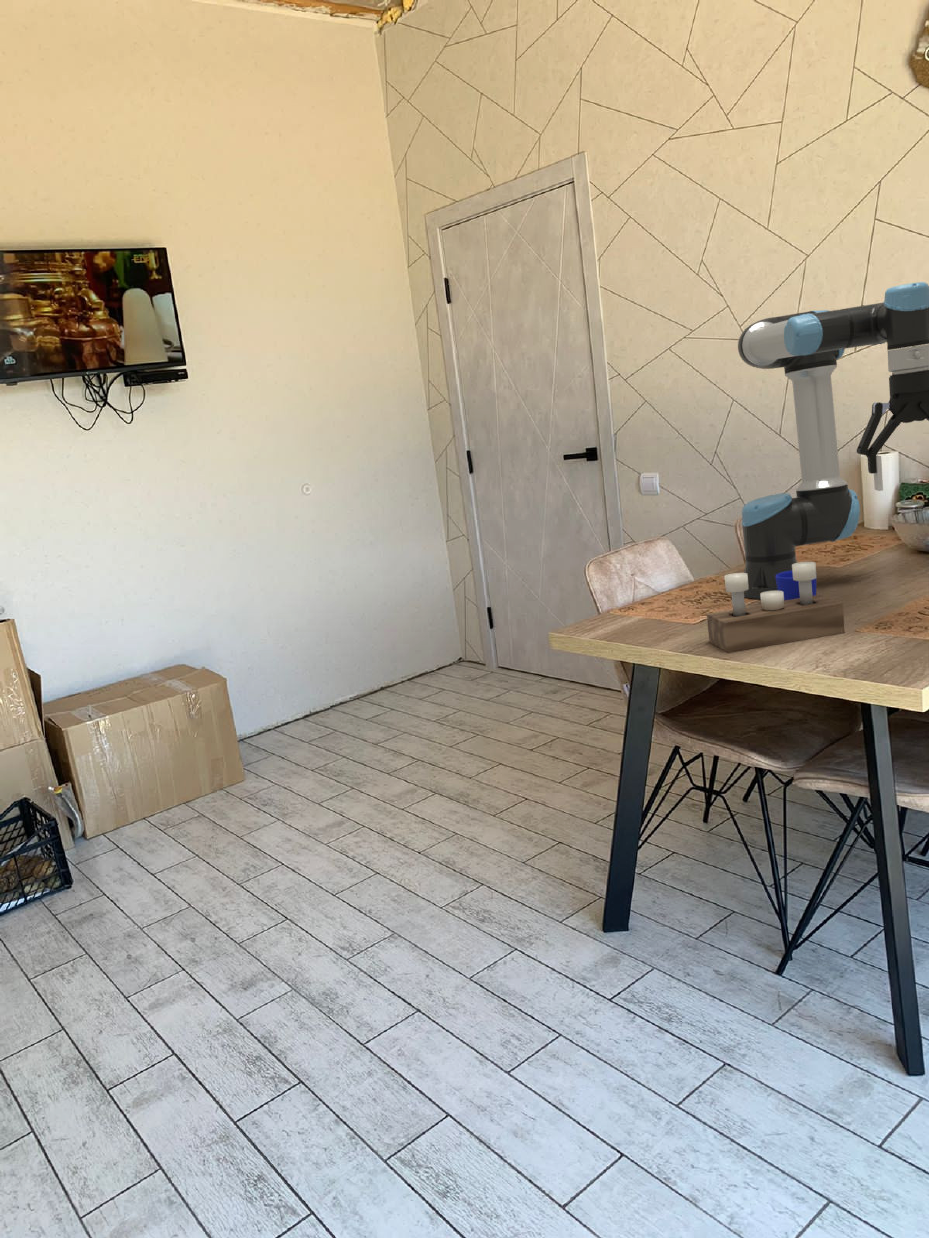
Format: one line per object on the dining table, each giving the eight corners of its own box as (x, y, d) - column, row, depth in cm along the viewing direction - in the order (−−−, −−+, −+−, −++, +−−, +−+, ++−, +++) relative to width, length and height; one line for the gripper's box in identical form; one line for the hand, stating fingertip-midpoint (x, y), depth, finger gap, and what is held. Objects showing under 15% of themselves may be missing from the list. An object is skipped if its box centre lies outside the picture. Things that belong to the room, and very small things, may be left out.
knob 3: (791, 605, 190) (788, 564, 188) (812, 602, 190) (809, 560, 189) (801, 609, 186) (797, 567, 184) (822, 605, 186) (819, 563, 184)
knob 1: (725, 616, 189) (721, 575, 187) (746, 613, 189) (742, 571, 188) (733, 620, 185) (729, 578, 183) (754, 617, 185) (750, 574, 183)
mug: (819, 609, 206) (815, 565, 204) (820, 622, 195) (816, 575, 193) (779, 612, 209) (776, 568, 207) (778, 625, 198) (774, 579, 196)
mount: (709, 641, 193) (706, 613, 192) (820, 622, 194) (818, 594, 193) (727, 652, 183) (724, 623, 182) (844, 632, 185) (842, 603, 183)
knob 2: (760, 634, 191) (756, 593, 189) (781, 630, 191) (777, 589, 189) (769, 638, 186) (765, 596, 185) (790, 634, 187) (787, 592, 185)
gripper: (846, 381, 172) (853, 496, 176) (991, 359, 168) (994, 477, 172) (835, 382, 179) (842, 492, 183) (974, 361, 175) (978, 474, 179)
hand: (916, 485), depth 178 cm, fingers open, 13 cm apart
